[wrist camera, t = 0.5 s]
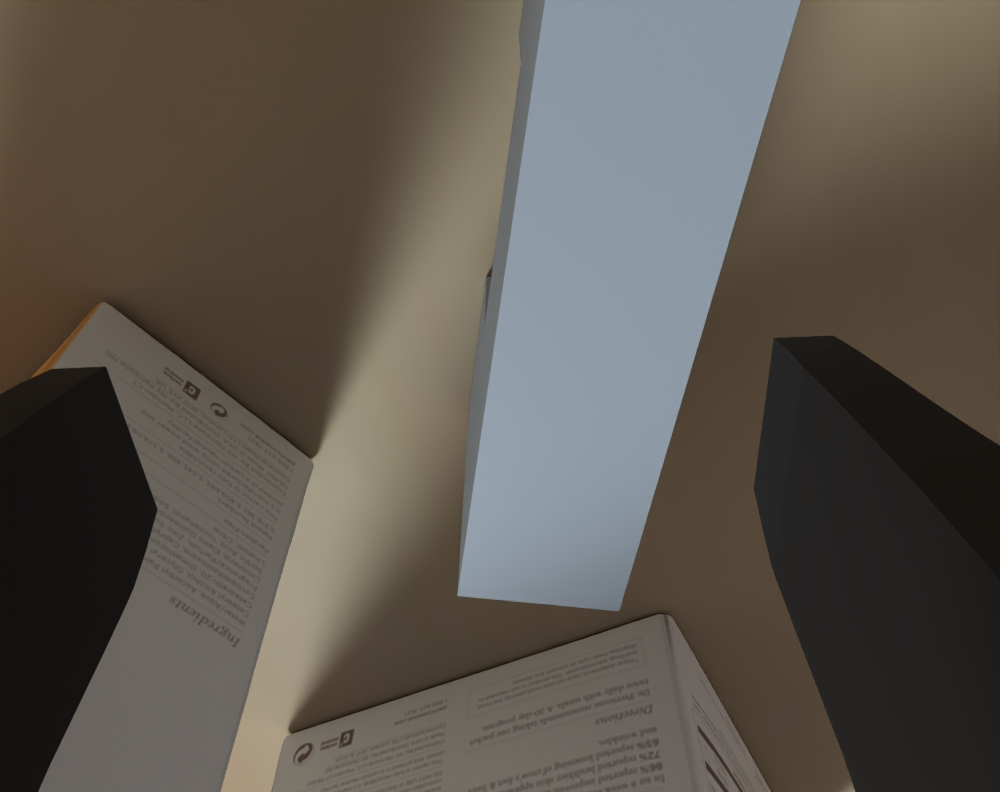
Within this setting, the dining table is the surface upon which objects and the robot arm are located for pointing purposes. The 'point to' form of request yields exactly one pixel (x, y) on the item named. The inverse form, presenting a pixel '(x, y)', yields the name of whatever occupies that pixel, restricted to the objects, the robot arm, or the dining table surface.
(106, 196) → the dining table surface
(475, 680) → the supplement box
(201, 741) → the small box
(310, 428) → the dining table surface
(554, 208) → the plain blue-gray board
